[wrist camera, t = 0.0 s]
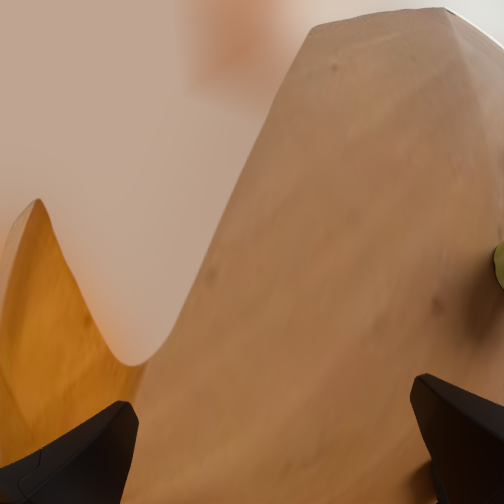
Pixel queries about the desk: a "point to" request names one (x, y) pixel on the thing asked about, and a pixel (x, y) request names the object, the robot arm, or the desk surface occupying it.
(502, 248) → the plant pot
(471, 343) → the desk surface
